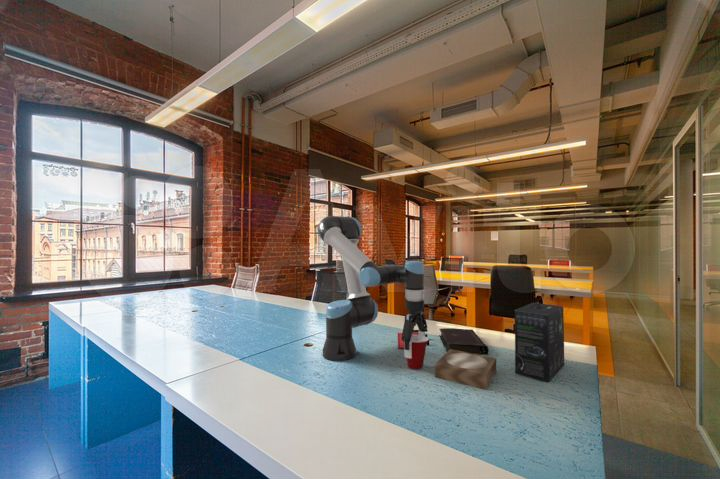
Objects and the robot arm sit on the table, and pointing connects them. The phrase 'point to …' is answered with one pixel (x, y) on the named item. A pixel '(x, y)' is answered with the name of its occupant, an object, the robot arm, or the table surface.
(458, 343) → the diary
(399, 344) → the red board with handle
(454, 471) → the table surface
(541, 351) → the headset box
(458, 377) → the walnut pedestal
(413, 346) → the plastic cup
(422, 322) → the robot arm
